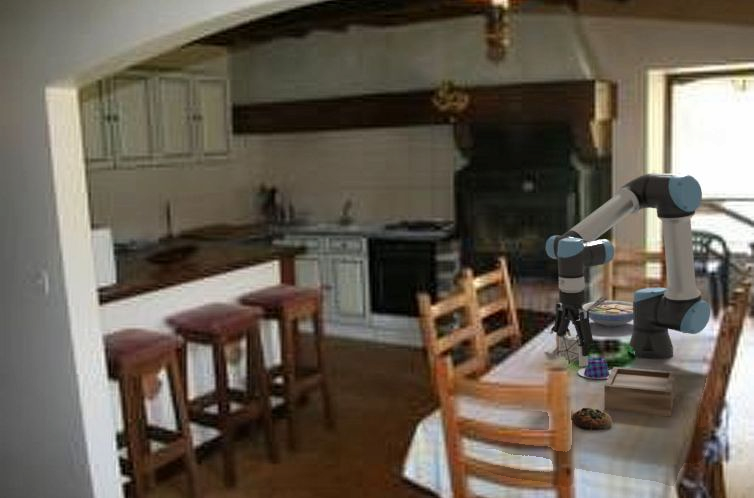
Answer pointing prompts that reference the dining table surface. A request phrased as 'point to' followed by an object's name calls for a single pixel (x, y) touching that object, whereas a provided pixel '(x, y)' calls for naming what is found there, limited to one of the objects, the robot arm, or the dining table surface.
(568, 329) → the grandmother figurine
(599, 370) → the pudding
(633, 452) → the dining table surface
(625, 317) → the ramen bowl
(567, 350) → the game die
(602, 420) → the bread roll
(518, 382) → the dining table surface
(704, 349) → the dining table surface
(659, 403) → the walnut box
